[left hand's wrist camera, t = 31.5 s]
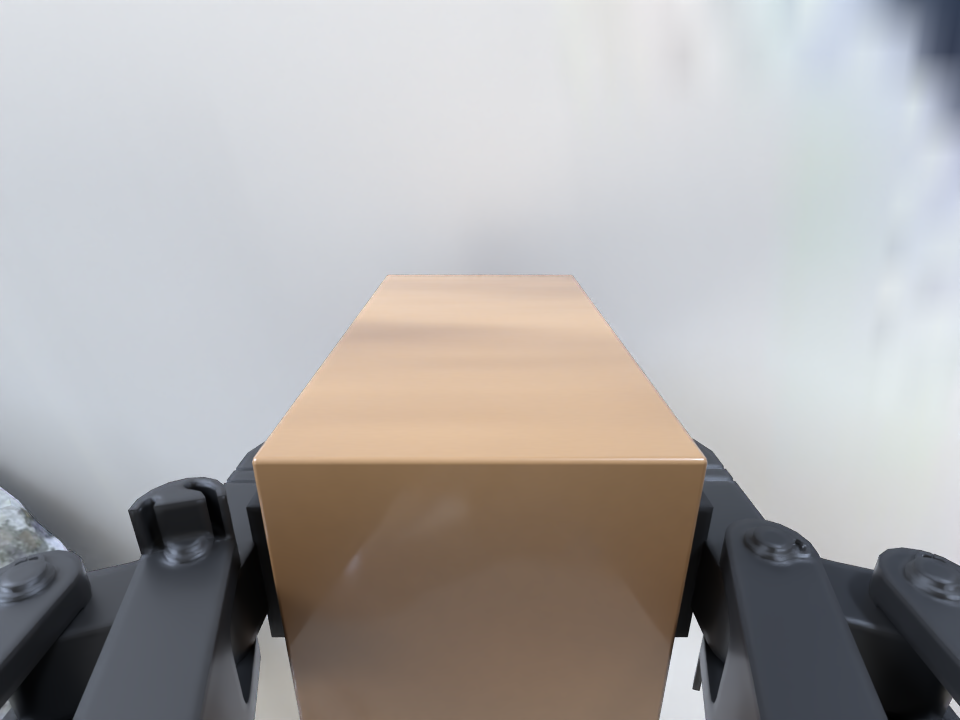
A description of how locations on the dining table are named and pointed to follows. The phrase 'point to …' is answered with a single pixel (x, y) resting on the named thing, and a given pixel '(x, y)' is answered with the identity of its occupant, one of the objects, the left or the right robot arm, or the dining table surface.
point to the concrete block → (21, 539)
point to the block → (479, 511)
